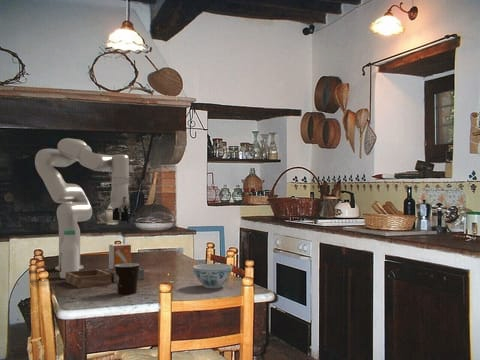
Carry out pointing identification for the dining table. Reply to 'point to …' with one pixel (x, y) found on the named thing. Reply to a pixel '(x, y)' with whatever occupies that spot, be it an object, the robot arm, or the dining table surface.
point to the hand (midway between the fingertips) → (120, 220)
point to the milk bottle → (69, 254)
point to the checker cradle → (113, 274)
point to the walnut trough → (88, 278)
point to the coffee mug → (127, 278)
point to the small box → (119, 254)
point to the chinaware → (212, 274)
